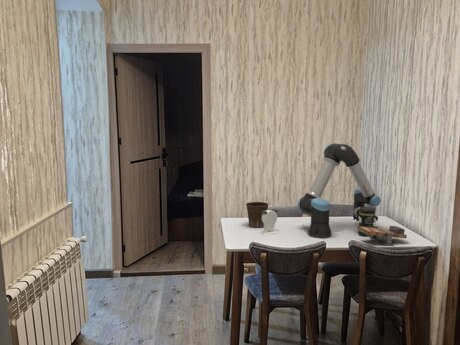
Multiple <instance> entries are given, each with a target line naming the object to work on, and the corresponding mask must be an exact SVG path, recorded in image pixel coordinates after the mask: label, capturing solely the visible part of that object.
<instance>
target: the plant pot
mask: <svg viewBox="0 0 460 345" xmlns="http://www.w3.org/2000/svg"><path fill="white" fill-rule="evenodd" d="M245 207H246V212H247V219H248V226H249V227H250V228H253V229H260V228H261V229H262V228H264V226H263V222H262V211H266V210H269V209H268V207H269V203H268V202H263V201H250V202H247V203H245Z"/></svg>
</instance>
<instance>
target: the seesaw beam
mask: <svg viewBox="0 0 460 345" xmlns="http://www.w3.org/2000/svg"><path fill="white" fill-rule="evenodd" d="M358 230H359V231H361V232H363V233H365V234H367V235H373V236H384V237H386V234H387V233H392V238H397V239H407V236H408V235H407V234H405V230H406V229H405V228H402V227H401V226H400V227H399V226H396V225H389V228H388V229H387V228H378V229H377V228H370V227H359V226H358V227H357V231H358Z"/></svg>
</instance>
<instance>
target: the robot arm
mask: <svg viewBox="0 0 460 345" xmlns="http://www.w3.org/2000/svg"><path fill="white" fill-rule="evenodd" d="M341 162H343V163H344V165H345V167H347V168H348V170H349V171H350V173H351V175H352V176H353V178H354V180H355V183H356V184H357V186H358V188H355V189H354V190H353V191H354V193H353V207H352V211H353V213H352V217H353V218H352V219H353V220H354V221H356V222H360V223H361V218H360V215H359V210H360V207H366V206H365V205H367V206H370V207H378V206H379V205H380V204H381V202H382V198H381V197H380V196H379V195H377V194H376V193H375V191H374V190H373V186H371V184H370V180H369V178H368V176H367V175H366V173H365V171H364V169H363V167H362V165H361V160H360V158H359V156H358V153H356V151H355V150H354V148H353V147H352V146H350V145H349V144H346V143H336V142H335V143H329V144H327V145H326V146H325V147H324V150H323V162H322V164H321V167H320V169H319V171H318V172H317V175H316V177H315V179H314V181H313V183H312V185H311V187H310V189H309V191H307V192H305V194H304V196H302V197H300V198H299V199H298V201H297V209H298V211H299V212H300V213H301V214H303V215H306V216H308V217H310V224H309V227H308V229H307V235H308V236H309V237H311V238H315V239H316V238H317V239H318V238H319V239H327V238H331V237H332V229H331V227H330V209H331V208H330V207H331V206H330V202H329V201H328V200H326V199H325V198H322V195H323V193H324V191H325V189H326V187H327V185H328V183H329V182H330V179H331V177H332V175H333V173H334V171H335V169H336V167H339V166H340V164H341ZM378 221H379V217H378V216H377V215H374V218H373V224H376V223H377V222H378Z"/></svg>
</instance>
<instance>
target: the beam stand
mask: <svg viewBox="0 0 460 345" xmlns="http://www.w3.org/2000/svg"><path fill="white" fill-rule="evenodd" d="M372 228H377V229H379V227H378V226H373V227H372ZM369 239H370V240H372V241H374V242H376V243H378V244H379V245H382V246H383V247H389V246H390V247H391V246H392V247H394V246H395V245H394V243H393V242H392V241H393V237H392V233H387V234H386V237H384V236H373V235H372V236H369Z"/></svg>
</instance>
